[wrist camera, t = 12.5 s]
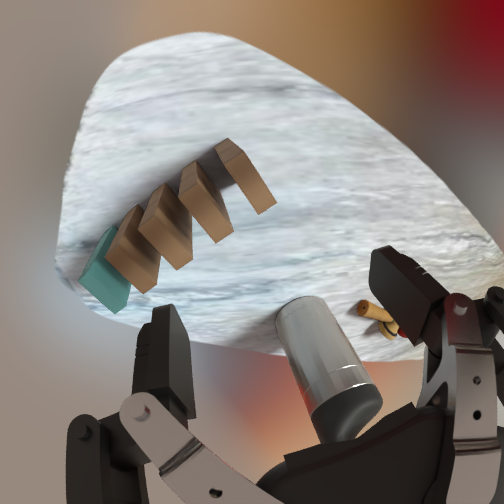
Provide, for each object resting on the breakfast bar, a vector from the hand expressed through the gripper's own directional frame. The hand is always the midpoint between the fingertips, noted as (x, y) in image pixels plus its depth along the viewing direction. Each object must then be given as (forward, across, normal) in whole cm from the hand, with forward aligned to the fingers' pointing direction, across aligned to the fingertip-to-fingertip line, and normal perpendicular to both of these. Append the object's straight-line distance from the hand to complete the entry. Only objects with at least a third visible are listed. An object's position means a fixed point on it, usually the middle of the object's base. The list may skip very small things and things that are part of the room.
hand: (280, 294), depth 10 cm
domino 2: (+22, +6, +3) cm, 23 cm away
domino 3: (+22, +2, +1) cm, 22 cm away
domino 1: (+22, +10, +4) cm, 25 cm away
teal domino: (+22, +14, +6) cm, 27 cm away
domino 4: (+22, -2, 0) cm, 22 cm away
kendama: (+22, -26, +33) cm, 48 cm away
